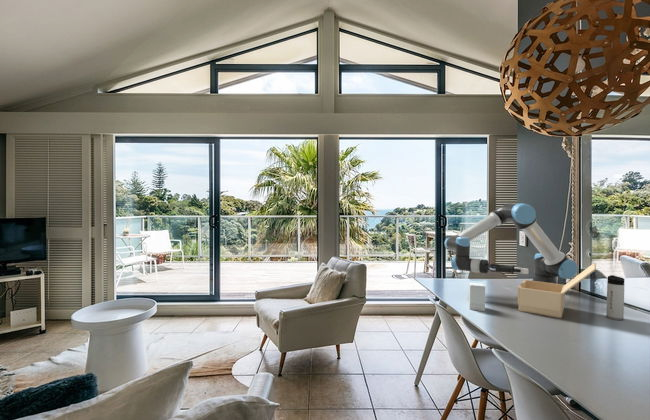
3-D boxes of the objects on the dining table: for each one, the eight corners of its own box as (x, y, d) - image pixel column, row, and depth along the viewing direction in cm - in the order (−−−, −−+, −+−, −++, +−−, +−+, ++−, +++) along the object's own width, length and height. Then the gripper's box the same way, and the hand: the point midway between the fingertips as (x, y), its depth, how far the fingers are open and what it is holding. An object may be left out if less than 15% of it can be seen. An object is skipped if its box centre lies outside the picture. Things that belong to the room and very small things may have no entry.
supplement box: (485, 311, 172) (485, 286, 172) (469, 309, 175) (469, 285, 174) (483, 307, 179) (484, 283, 179) (468, 305, 182) (468, 281, 181)
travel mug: (618, 316, 166) (619, 275, 166) (626, 321, 160) (627, 278, 159) (603, 315, 168) (604, 274, 167) (610, 319, 161) (611, 277, 161)
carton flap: (594, 262, 171) (595, 263, 171) (564, 285, 179) (565, 286, 179) (594, 268, 155) (596, 269, 155) (562, 293, 163) (563, 294, 162)
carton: (523, 300, 192) (524, 279, 191) (564, 307, 180) (564, 284, 180) (516, 310, 173) (517, 287, 173) (561, 318, 162) (562, 293, 162)
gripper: (482, 270, 199) (529, 276, 185) (477, 274, 189) (526, 280, 175) (483, 258, 199) (529, 262, 185) (477, 260, 189) (526, 266, 174)
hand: (528, 271), depth 180 cm, fingers closed
